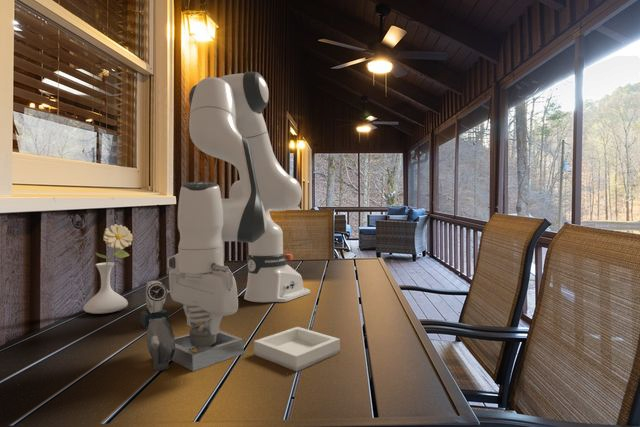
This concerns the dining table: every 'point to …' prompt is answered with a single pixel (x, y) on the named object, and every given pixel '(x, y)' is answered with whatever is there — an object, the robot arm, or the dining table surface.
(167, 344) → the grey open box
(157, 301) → the watch
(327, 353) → the tray
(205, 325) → the light bulb
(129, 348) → the dining table surface
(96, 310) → the flower in vase
